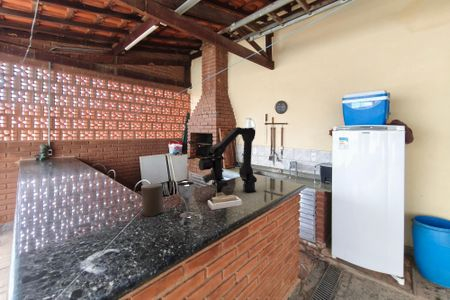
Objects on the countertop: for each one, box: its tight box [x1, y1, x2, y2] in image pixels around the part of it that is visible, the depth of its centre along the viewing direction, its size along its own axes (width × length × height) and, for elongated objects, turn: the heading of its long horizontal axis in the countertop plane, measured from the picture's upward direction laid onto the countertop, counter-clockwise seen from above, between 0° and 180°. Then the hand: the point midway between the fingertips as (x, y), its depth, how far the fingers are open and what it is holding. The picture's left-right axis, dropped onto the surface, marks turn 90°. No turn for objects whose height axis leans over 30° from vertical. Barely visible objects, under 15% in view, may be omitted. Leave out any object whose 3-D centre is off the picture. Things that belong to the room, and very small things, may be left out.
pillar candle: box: [140, 182, 165, 217], centre depth 101 cm, size 10×10×15 cm
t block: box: [211, 191, 237, 204], centre depth 112 cm, size 11×12×4 cm
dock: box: [207, 195, 243, 211], centre depth 108 cm, size 16×8×2 cm, turn 108°
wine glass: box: [176, 180, 196, 219], centre depth 96 cm, size 8×8×15 cm
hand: (218, 195), depth 118 cm, fingers closed
